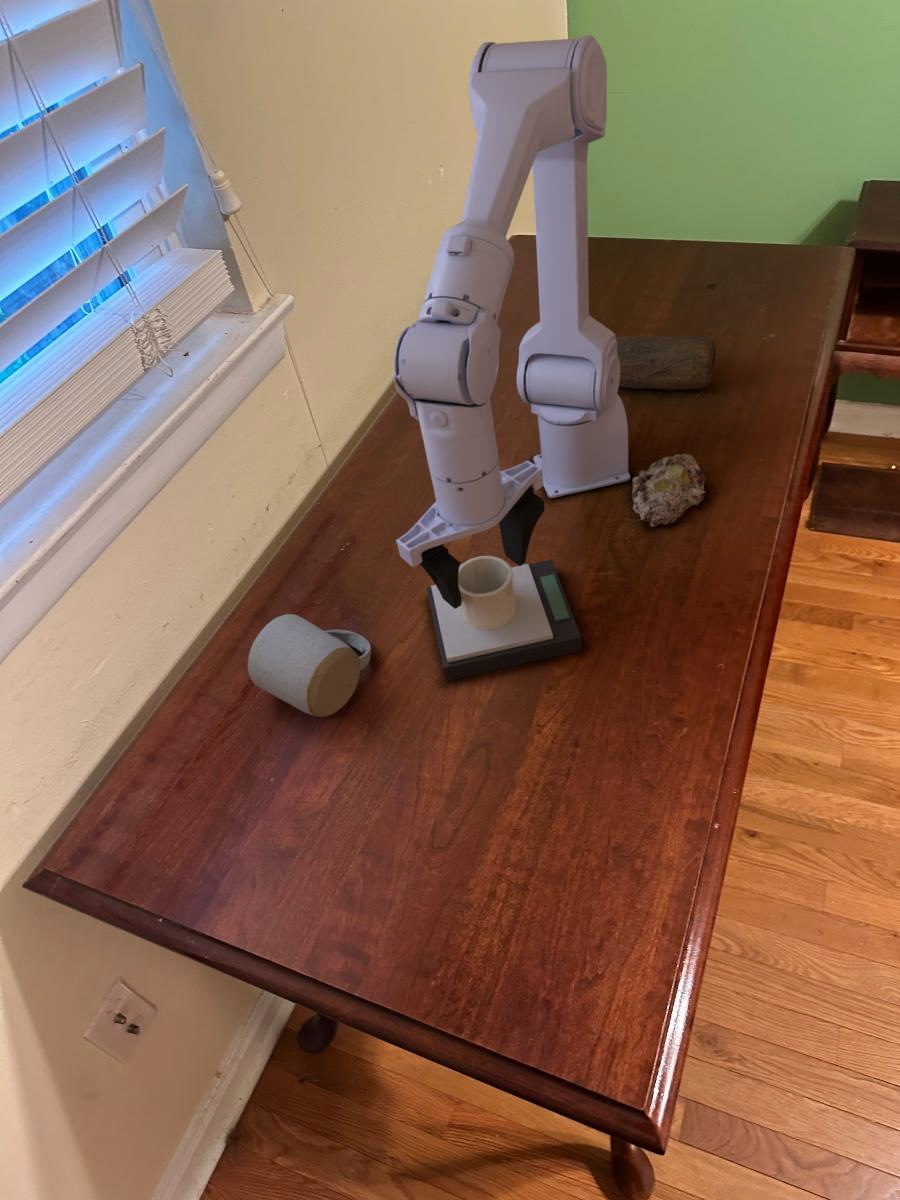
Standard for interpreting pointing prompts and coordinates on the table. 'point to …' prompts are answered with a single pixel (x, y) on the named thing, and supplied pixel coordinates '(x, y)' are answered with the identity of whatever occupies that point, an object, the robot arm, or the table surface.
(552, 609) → the scale
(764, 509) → the table surface
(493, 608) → the cream cup
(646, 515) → the mineral rock
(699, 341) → the wooden log
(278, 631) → the ceramic mug
